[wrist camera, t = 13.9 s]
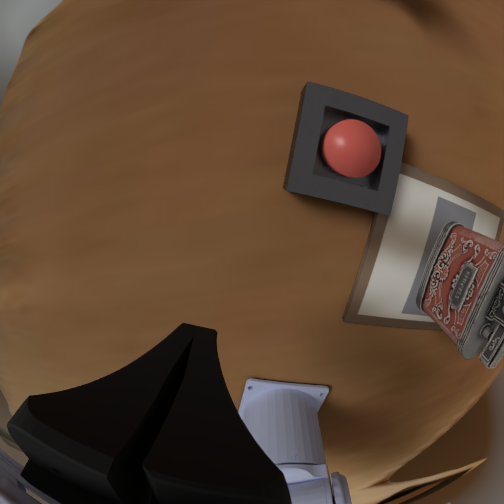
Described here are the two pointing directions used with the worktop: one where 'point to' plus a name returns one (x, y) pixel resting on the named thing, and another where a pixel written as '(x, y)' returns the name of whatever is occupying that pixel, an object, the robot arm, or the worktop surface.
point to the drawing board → (412, 247)
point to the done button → (351, 148)
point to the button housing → (311, 162)
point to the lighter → (466, 291)
